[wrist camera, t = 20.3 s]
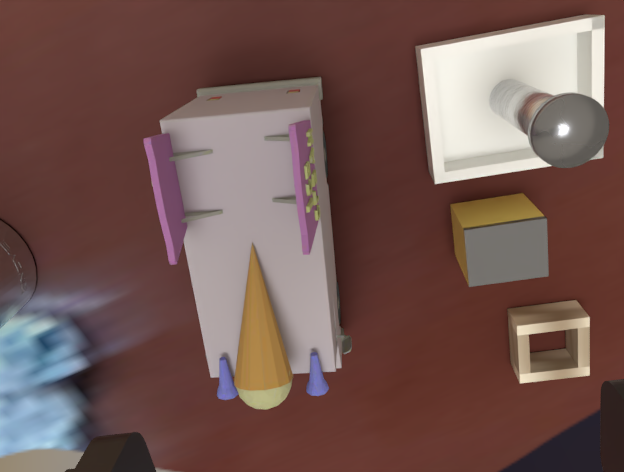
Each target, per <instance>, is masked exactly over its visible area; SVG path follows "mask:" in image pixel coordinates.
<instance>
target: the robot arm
mask: <svg viewBox="0 0 624 472" xmlns="http://www.w3.org/2000/svg"><path fill="white" fill-rule="evenodd" d="M36 280H37V276H36V266H35V263H34V260H33V256H32V254H31V252H30V251H29V249H28V247H27V245H26V244H25V242H24V241H23V240H22V239H21V237H20V236H19V235H18V234H17V233H16V232H15V231H14V230H13V229H12V228H11V227H9V226H8V225H7V224H5V223H4V222H2V221H1V220H0V328H1V327H2V326H3V325H4V324H5V323H6V322H7V321H9V320H10V319H11V318H12V317H13V316H14V315H15V314H16V313H17V312H18V311H19V310H20V309H21V308H22V307H24V305H25V304H26V303H27V302H28V301H29V300H30V299H31V296H32V294H33V292H34V290H35V286H36ZM600 429H601V430H600V431H601V432H600V456H601V463H602V467H603V472H624V379H621V380H612V381H605V382H604V383H603V384H602V387H601V426H600ZM65 472H156V470H155V467H154V464H153V462H152V459H151V456H150V453H149V451H148V448H147V445H146V443H145V440H144V438H143V437H142V435H141V434H140V433H138V432H133V433H124V434H115V435H106V436H98V437H95V438H94V439H93V440H92V441H91V442H90V444H89V445H88V447H87V449H86V450H85V452H84V454H83V456H82V457H81V459H80V461H79V462H78V464H77V466H76V468H75V469H68V470H66V471H65Z"/></svg>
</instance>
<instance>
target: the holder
mask: <svg viewBox="0 0 624 472" xmlns="http://www.w3.org/2000/svg"><path fill="white" fill-rule="evenodd" d="M508 326H509V342H510V358H511V365H512V367H513V369H514V371H515V374H516V376H517V378H518V380H519V382H520V383H527V382H536V381H545V380H554V379H563V378H572V377H581V376H589V375H590V317H589V316H588V314H587V313H586V312H585V311H584V309H583V308H582V307H581V306H580V304H579V303H578V302H577V301H576V300H572V301H564V302H556V303H548V304H540V305H533V306H525V307H517V308H509V309H508ZM560 330H565V332H566V349H558V350H549V351H541V352H533V353H530V350H529V334H535V333H543V332H551V331H560Z"/></svg>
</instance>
